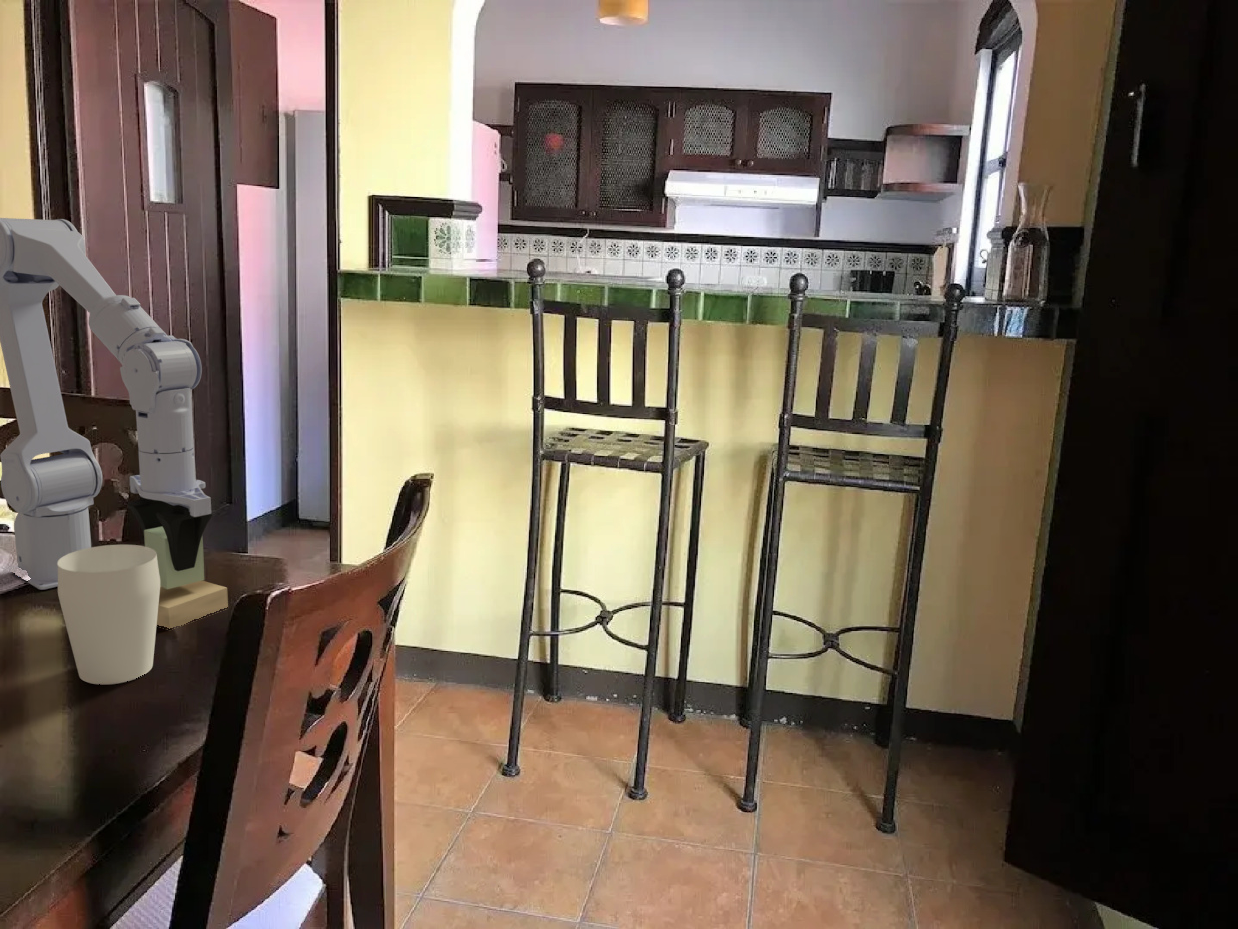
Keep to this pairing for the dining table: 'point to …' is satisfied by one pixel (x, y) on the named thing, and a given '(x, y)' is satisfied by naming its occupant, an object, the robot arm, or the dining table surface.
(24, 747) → the dining table surface
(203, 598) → the beech base
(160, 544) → the green block
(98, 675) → the cup
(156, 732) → the dining table surface
